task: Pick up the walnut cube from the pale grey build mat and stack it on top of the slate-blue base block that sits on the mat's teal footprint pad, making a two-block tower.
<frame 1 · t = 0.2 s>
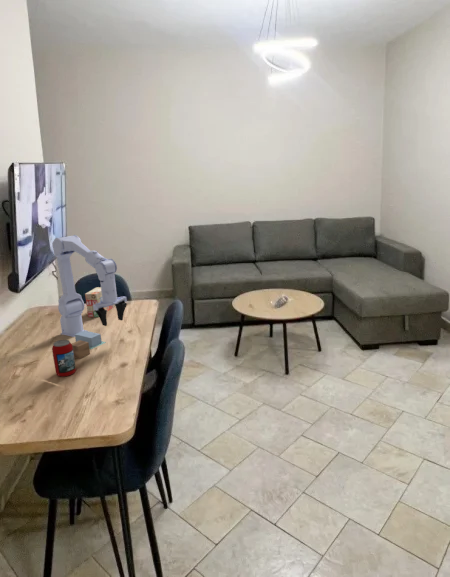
hand: (112, 322, 176), 10 cm above the table, tool pointing down, fingers open, 7 cm apart
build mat: (84, 348, 177), on the table
walnut cube: (80, 355, 169), resting on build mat
base block: (88, 343, 181), resting on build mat
beverage can: (66, 374, 155), on the table
stack of blocks: (103, 310, 227), on the table
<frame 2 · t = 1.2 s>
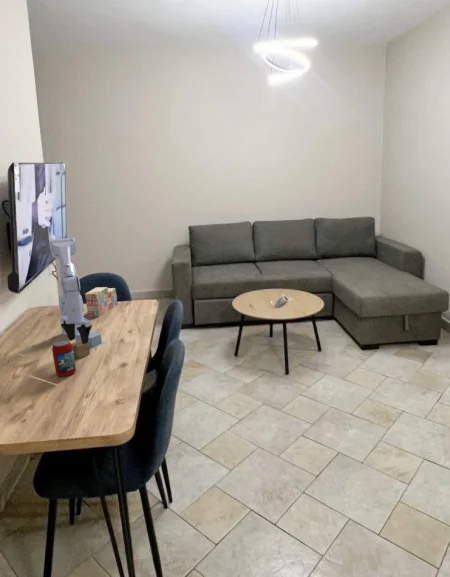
hand: (78, 341, 168), 6 cm above the table, tool pointing down, fingers open, 7 cm apart
nothing on the table moved.
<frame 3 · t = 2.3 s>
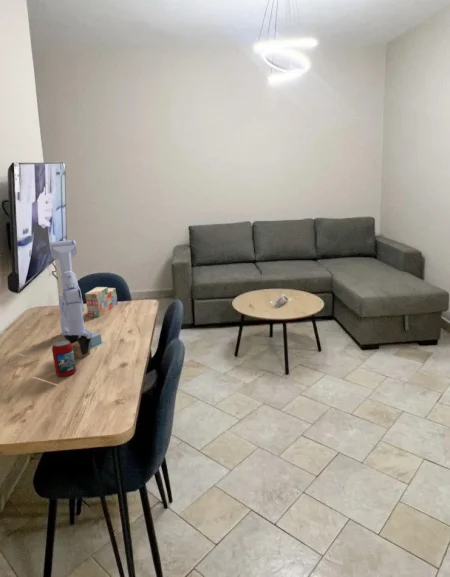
hand: (80, 352, 169), 2 cm above the table, tool pointing down, fingers closed on walnut cube, 5 cm apart
walnut cube: (80, 355, 169), resting on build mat, touching gripper
everything else where it was.
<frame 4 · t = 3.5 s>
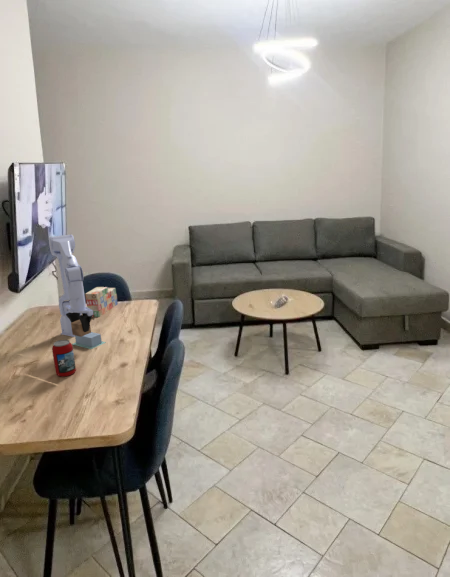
hand: (81, 330, 172), 9 cm above the table, tool pointing down, fingers closed on walnut cube, 5 cm apart
walnut cube: (81, 333, 173), point 7 cm above the table, touching gripper
everything else where it was.
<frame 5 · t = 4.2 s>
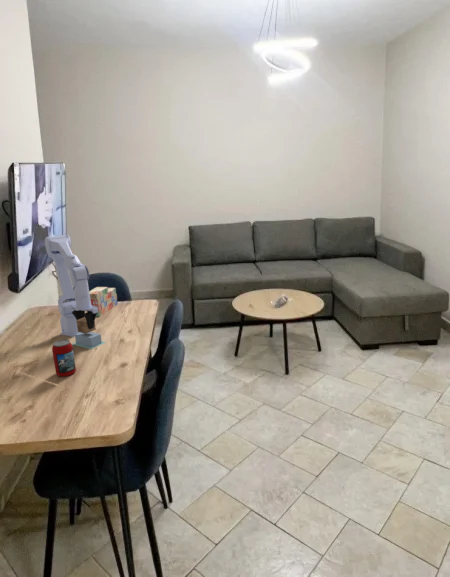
hand: (86, 327, 179), 7 cm above the table, tool pointing down, fingers closed on walnut cube, 5 cm apart
walnut cube: (86, 330, 179), point 6 cm above the table, touching gripper
everything else where it was.
when the fingers open (7 cm above the table, at t = 4.8 s): walnut cube drops 1 cm, resting on base block.
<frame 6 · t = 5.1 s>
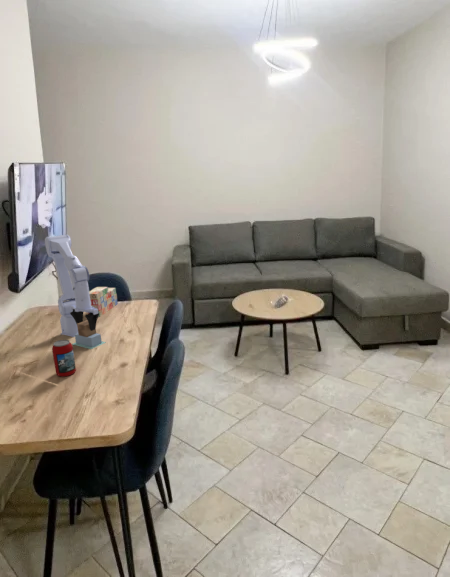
hand: (86, 328, 179), 7 cm above the table, tool pointing down, fingers open, 7 cm apart
walnut cube: (87, 334, 180), point 4 cm above the table, touching base block
base block: (88, 343, 181), resting on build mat, touching walnut cube
everything else where it was.
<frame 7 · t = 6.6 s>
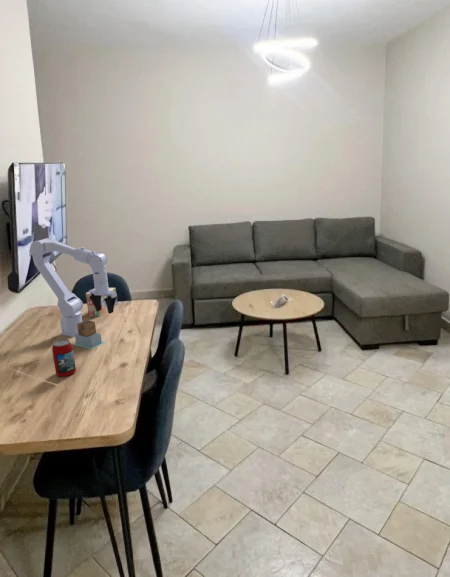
hand: (104, 311, 189), 10 cm above the table, tool pointing down, fingers open, 7 cm apart
nothing on the table moved.
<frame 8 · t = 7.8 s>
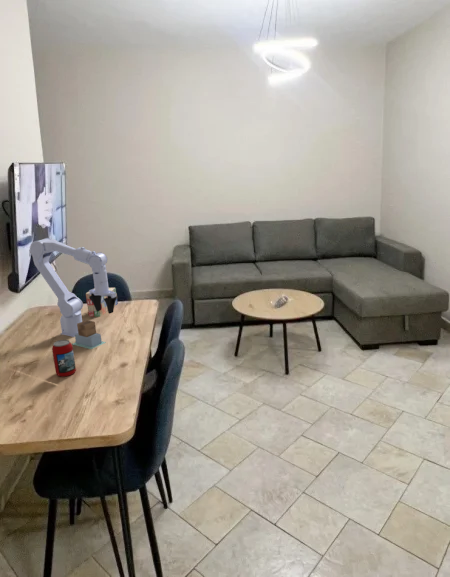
hand: (104, 311, 189), 10 cm above the table, tool pointing down, fingers open, 7 cm apart
nothing on the table moved.
at the end: walnut cube 0.0 cm off-centre on the base block, point 4.0 cm above the base block's base; walnut cube tilted 0°; the gripper is holding nothing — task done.
